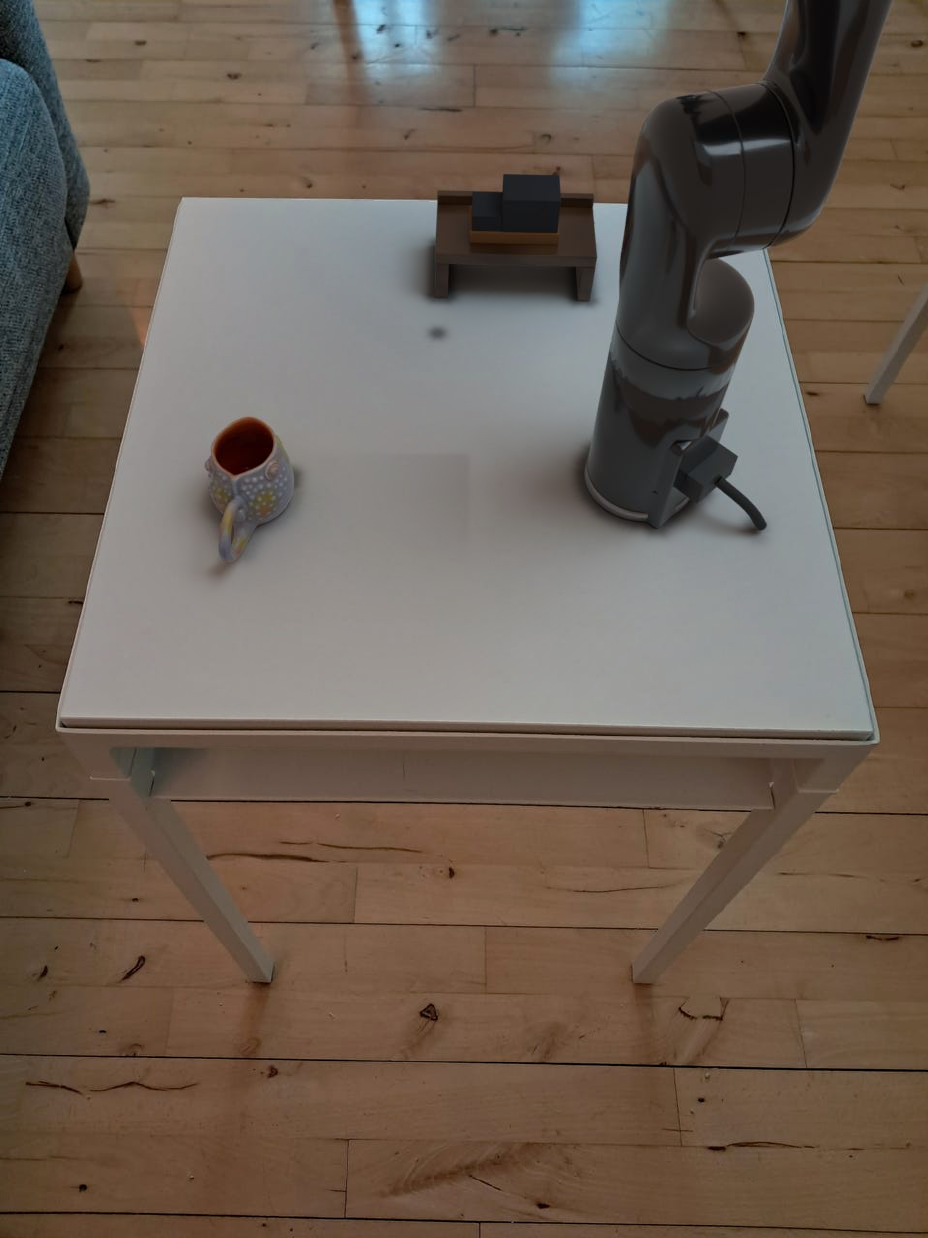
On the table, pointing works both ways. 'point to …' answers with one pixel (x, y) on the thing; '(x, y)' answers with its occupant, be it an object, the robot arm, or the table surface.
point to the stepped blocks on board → (518, 211)
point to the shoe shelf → (570, 250)
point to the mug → (247, 481)
